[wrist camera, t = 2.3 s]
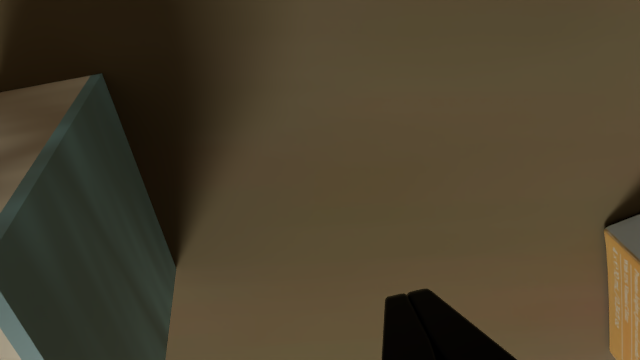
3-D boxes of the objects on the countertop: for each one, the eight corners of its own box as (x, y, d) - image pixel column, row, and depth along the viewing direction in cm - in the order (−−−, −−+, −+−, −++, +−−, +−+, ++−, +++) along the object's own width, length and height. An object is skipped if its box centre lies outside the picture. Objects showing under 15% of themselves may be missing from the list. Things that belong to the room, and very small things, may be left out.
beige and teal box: (102, 73, 14) (-16, 266, 7) (176, 268, 17) (146, 518, 11) (-5, 93, 14) (-231, 310, 7) (93, 285, 17) (9, 552, 11)
